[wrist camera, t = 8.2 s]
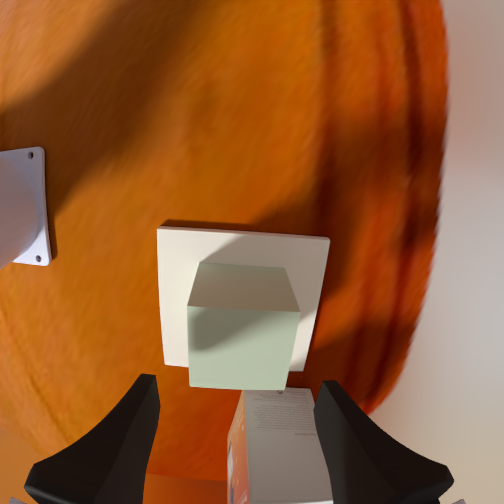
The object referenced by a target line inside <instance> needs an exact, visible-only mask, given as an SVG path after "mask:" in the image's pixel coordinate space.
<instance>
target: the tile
mask: <svg viewBox="0 0 504 504" xmlns="http://www.w3.org/2000/svg"><path fill="white" fill-rule="evenodd" d="M329 245H330V240H329V238H328V237H318V236H305V235H291V234H278V233H264V232H249V231H234V230H219V229H202V228H185V227H167V226H159V227H158V229H157V249H158V280H159V299H160V315H161V328H162V340H163V351H164V360H165V365H174V366H184V367H189V360H188V332H187V304H188V300H189V297H190V293H191V290H192V286H193V282H194V279H195V275H196V272H197V268H198V265H199V262H200V263H215V264H231V265H247V266H263V267H280V268H285V270H286V273H287V276H288V278H289V281H290V284H291V287H292V289H293V292H294V295H295V298H296V300H297V303H298V306H299V309H300V318H299V323H298V328H297V333H296V338H295V343H294V348H293V353H292V358H291V363H290V367H289V371H303V369H304V365H305V361H306V357H307V353H308V349H309V344H310V340H311V336H312V331H313V327H314V322H315V318H316V313H317V308H318V303H319V298H320V294H321V288H322V283H323V278H324V273H325V267H326V262H327V256H328V251H329Z"/></svg>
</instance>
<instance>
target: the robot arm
mask: <svg viewBox="0 0 504 504" xmlns="http://www.w3.org/2000/svg"><path fill="white" fill-rule="evenodd" d="M32 152H33V158H32V157H31V153H32ZM39 256H40V257H41V260H40V259H39ZM51 261H52V257H51V250H50V242H49V233H48V223H47V212H46V196H45V153H44V149H43V148H42V147H32V148H24V149H16V150H9V151H3V152H0V270H1V269H2V268H4V267H5V266H6V265H8V264H9V263H11V262H16V263H25V264H33V265H42V266H47V265H49V264H50V263H51ZM159 413H160V400H159V394H158V388H157V381H156V375H150V374H141V375H140V376H139V377H138V378H137V380H136V381H135V383H134V384H133V385H132V387H131V388H130V389H129V390H128V392H127V393H126V394H125V395H124V397H123V398H122V399H121V400H120V401H119V403H118V404H117V405H116V406H115V407H114V408H113V409H112V410H111V411H110V412H109V413H108V415H107V416H106V417H105V418H104V419H103V420H102V421H101V422H100V423H98V424H97V425H96V426H95V427H94V428H93V429H92V430H90V431H89V432H88V433H87V434H85V435H84V436H83V437H82V438H80V439H79V440H78V441H76V442H75V443H73V444H72V445H70V446H68V447H67V448H65V449H63V450H62V451H60V452H58V453H57V454H55V455H53V456H51V457H48V458H46V459H44V460H42V461H40V462H37V463H35V464H34V465H33V467H32V469H31V470H30V473H29V475H28V477H27V480H26V482H25V485H24V488H25V491H26V492H27V493H28V494H29V495H30V496H31V497H32V498H33V499H34V500H35V501H36V502H37V503H39V504H142V502H143V490H144V481H145V474H146V469H147V464H148V460H149V456H150V452H151V449H152V445H153V441H154V437H155V434H156V430H157V426H158V420H159ZM313 413H314V420H315V426H316V431H317V435H318V438H319V442H320V445H321V448H322V452H323V455H324V458H325V462H326V465H327V468H328V473H329V477H330V483H331V490H332V497H333V504H440V502H439V499H438V498H439V497H440V496H441V495H443V494H444V493H445V492H446V491H447V490H448V489H449V488H450V487H451V486H452V485H453V483H454V479H453V477H452V475H451V473H450V471H449V469H448V467H447V466H446V465H443V464H440V463H438V462H435V461H432V460H430V459H428V458H426V457H423V456H421V455H419V454H417V453H415V452H414V451H412V450H410V449H409V448H407V447H405V446H404V445H402V444H401V443H399V442H398V441H396V440H395V439H393V438H392V437H391V436H390V435H388V434H387V433H386V432H384V431H383V430H382V429H380V427H378V426H377V425H376V424H375V423H374V422H373V421H372V420H371V419H370V418H369V417H368V416H367V415H366V414H365V413H364V412H363V411H362V410H361V409H360V408H359V407H358V405H357V404H356V403H355V402H354V401H353V400H352V399H351V398H350V396H349V395H348V394H347V393H346V392H345V390H344V389H343V388H342V387H341V386H340V385H339V383H338V382H337V381H336V380H332V381H323V382H322V385H321V388H320V391H319V394H318V397H317V400H316V403H315V406H314V409H313ZM9 504H26V503H24V502H22V501H19V500H18V499H16V498H14V497H11V500H10V502H9ZM453 504H466V503H465V501H464V499H461V500H459V501H457V502H455V503H453Z"/></svg>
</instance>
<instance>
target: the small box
mask: <svg viewBox="0 0 504 504" xmlns="http://www.w3.org/2000/svg"><path fill="white" fill-rule="evenodd" d="M314 406H315V404H314V400H313V396H312V393H311V390H310V389H305V388H289V387H285V390H242V392H241V396H240V400H239V403H238V406H237V409H236V412H235V415H234V418H233V421H232V424H231V428H230V431H229V433H228V504H333V497H332V490H331V483H330V477H329V473H328V468H327V465H326V462H325V458H324V455H323V452H322V448H321V445H320V442H319V438H318V435H317V431H316V426H315V420H314V413H313V409H314Z"/></svg>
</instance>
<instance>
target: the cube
mask: <svg viewBox="0 0 504 504" xmlns="http://www.w3.org/2000/svg"><path fill="white" fill-rule="evenodd" d="M299 318H300V309H299V306H298V303H297V300H296V298H295V295H294V292H293V289H292V287H291V284H290V281H289V278H288V276H287V273H286V270H285V268H280V267H263V266H247V265H231V264H215V263H200V262H199V265H198V268H197V272H196V275H195V279H194V282H193V286H192V290H191V293H190V297H189V300H188V304H187V332H188V360H189V380H190V386H192V387H205V388H220V389H241V390H285V386H286V381H287V377H288V372H289V367H290V363H291V358H292V353H293V348H294V343H295V338H296V333H297V328H298V323H299Z"/></svg>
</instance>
